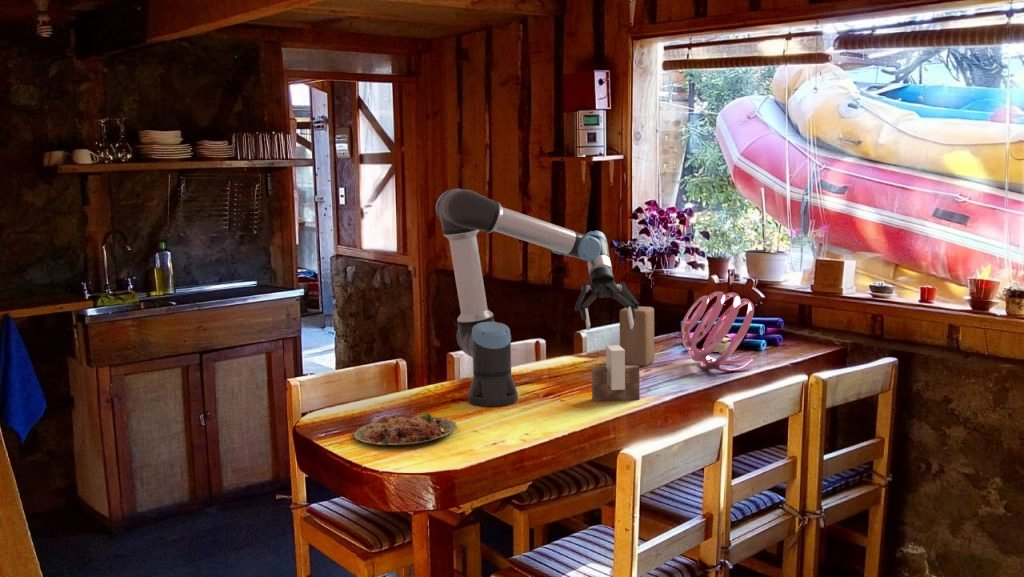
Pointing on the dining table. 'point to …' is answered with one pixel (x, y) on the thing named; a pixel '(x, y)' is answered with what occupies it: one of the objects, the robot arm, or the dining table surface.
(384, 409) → the dining table surface
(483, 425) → the dining table surface
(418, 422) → the rice dish
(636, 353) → the wooden block
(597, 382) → the slotted walnut plate
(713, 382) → the dining table surface
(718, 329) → the pink openwork looped piece
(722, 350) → the stacked layers on plate
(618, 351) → the cream plate
